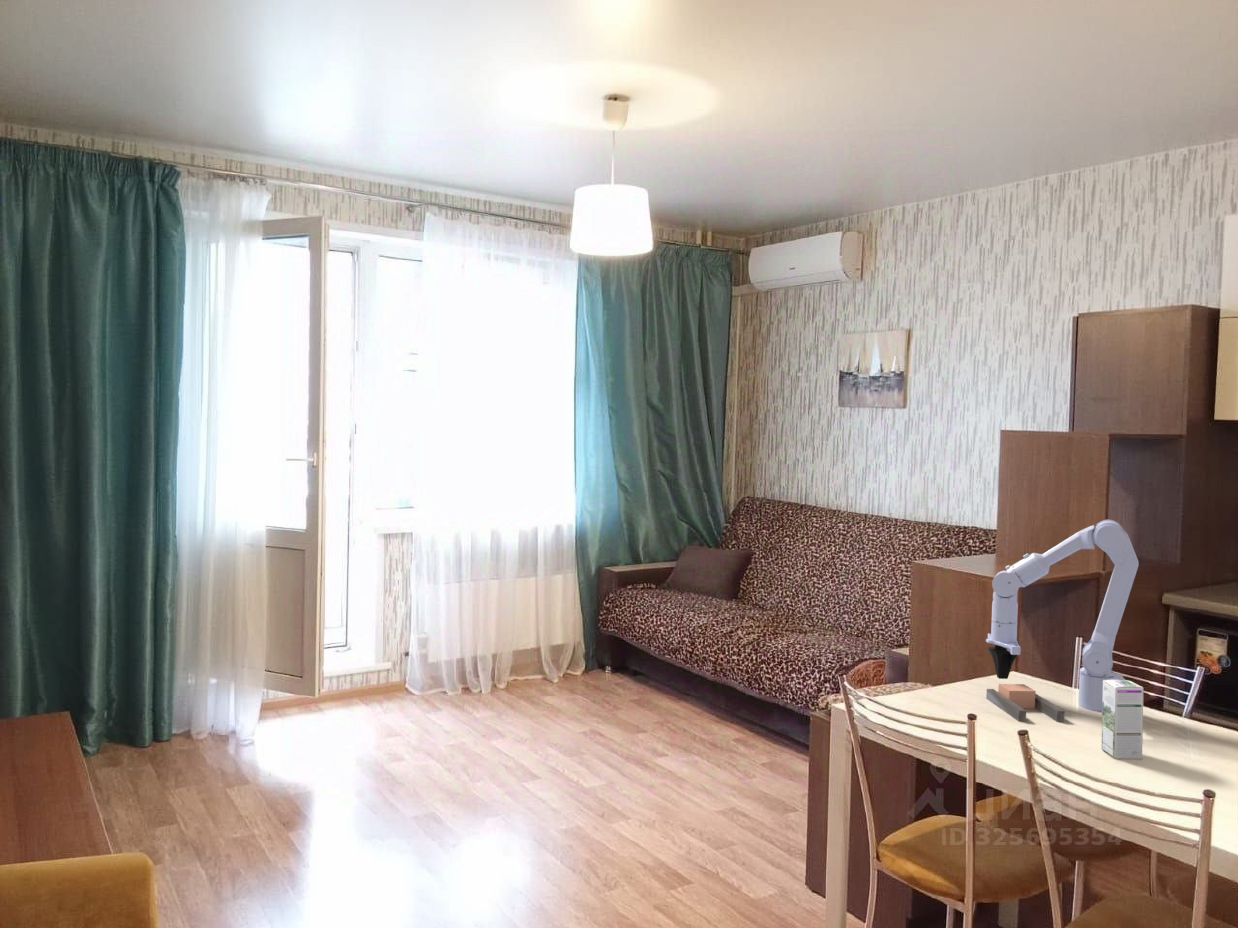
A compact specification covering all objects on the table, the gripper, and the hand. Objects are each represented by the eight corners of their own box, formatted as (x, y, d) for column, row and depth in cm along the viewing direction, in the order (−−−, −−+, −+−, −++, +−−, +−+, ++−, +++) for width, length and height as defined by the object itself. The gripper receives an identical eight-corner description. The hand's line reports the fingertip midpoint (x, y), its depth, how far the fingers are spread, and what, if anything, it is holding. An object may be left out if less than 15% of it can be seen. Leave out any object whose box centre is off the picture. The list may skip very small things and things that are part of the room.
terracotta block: (1023, 701, 231) (1024, 684, 231) (1034, 708, 225) (1035, 691, 225) (998, 700, 231) (998, 683, 231) (1008, 708, 225) (1009, 690, 225)
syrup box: (1143, 759, 194) (1145, 686, 194) (1113, 759, 194) (1115, 686, 194) (1129, 750, 200) (1131, 679, 199) (1099, 749, 200) (1101, 678, 199)
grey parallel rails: (1026, 700, 236) (1027, 685, 236) (1075, 731, 212) (1075, 715, 212) (977, 699, 236) (977, 685, 236) (1019, 730, 212) (1020, 714, 212)
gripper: (976, 615, 242) (974, 670, 243) (1000, 627, 228) (997, 685, 228) (1004, 615, 242) (1002, 670, 243) (1030, 627, 228) (1028, 686, 229)
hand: (1002, 678), depth 236 cm, fingers closed
